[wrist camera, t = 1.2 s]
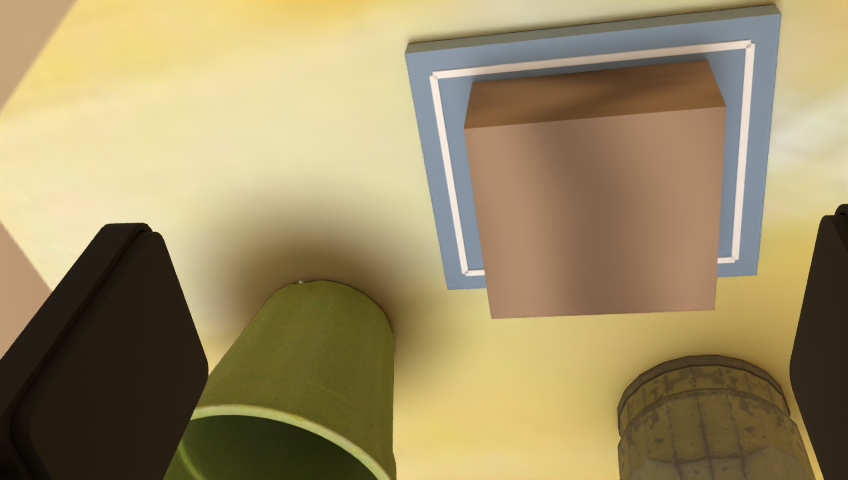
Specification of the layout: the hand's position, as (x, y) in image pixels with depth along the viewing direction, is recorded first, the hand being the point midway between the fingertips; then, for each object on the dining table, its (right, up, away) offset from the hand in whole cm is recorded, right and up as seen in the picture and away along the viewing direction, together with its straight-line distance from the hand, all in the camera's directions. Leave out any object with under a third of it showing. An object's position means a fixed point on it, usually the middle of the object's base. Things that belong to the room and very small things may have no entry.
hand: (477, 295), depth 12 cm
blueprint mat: (+6, +4, +23) cm, 24 cm away
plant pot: (-6, -4, +31) cm, 32 cm away
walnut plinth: (+6, +4, +23) cm, 24 cm away
